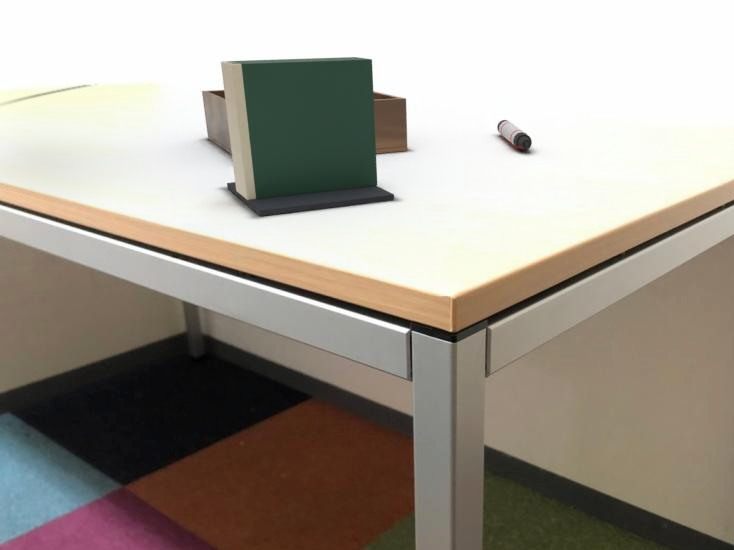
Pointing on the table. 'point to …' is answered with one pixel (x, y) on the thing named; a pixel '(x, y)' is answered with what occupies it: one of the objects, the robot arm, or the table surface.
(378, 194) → the mat
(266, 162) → the book
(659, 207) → the table surface
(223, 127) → the box
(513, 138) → the marker
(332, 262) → the table surface
